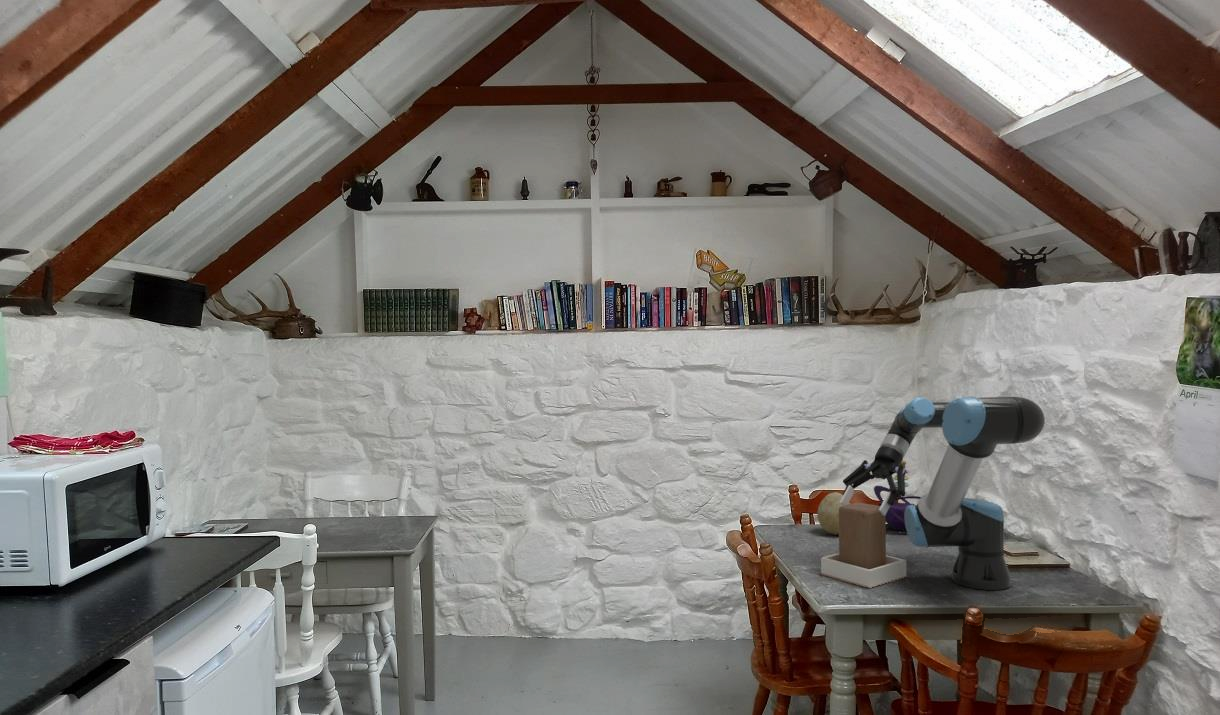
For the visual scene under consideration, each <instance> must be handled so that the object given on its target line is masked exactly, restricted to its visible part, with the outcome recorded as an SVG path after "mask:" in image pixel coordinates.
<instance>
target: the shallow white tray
mask: <svg viewBox="0 0 1220 715" xmlns="http://www.w3.org/2000/svg"><path fill="white" fill-rule="evenodd" d="M820 561H821V562H820V564H821V566H820V567H821V569H820V572H821V575H822V576H825V577H829V578H833V579H836V580H838V579H839V581H842V582H846V583H850V584H852V583H854V584H853V585H855V584H856V585H855V586H859V585H860V586H859V587H862V586H863V587H862V588H865V587H868V588H867V589H869V588H872V587H875V586H878V585H881V586H883V585H882V584H884V585H886V584H885V583H887V584H889V583H888V582H890V583H892V582H891V581H893V582H896V581H895V580H897V579H900V580H902V579H901V578H903V579H905V578H904V577H906V578H907V560H906V559H903V558H900V557H899V558H898V557H895V556H892V555H887V554H886V565H883V566H880V567H876V568H873V569H870V570H869V569H865V568H861V567H858V566H854V565H850V564H847V563H843V562H840V561H839V552H838V553H834V554H830V555H826V556H823V557H821V558H820ZM897 581H898V580H897ZM878 587H879V586H878ZM875 588H876V587H875ZM872 589H873V588H872Z"/></svg>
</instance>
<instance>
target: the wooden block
mask: <svg viewBox="0 0 1220 715" xmlns="http://www.w3.org/2000/svg"><path fill="white" fill-rule="evenodd" d="M880 507H881V506H877V505H876V504H869V503H866V502H865V503H864V502H860V501H858V502H853V503H851V504H849V505H844V506H841V507H839V535H838V553H839V561H840V562H843V563H847V564H850V565H854V566H858V567H861V568H865V569H869V570H870V569H873V568H876V567H880V566H883V565H886V555H887V535H886V534H887V532H886V531H887V530H886V528H887V523H886V515H885V516H883V515H882V514H881V512H880V511H879V508H880Z"/></svg>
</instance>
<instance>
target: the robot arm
mask: <svg viewBox="0 0 1220 715" xmlns="http://www.w3.org/2000/svg"><path fill="white" fill-rule="evenodd" d="M1044 427H1045V414H1044V411H1043V409H1042V408H1041V407H1040V405H1039V404H1037V403H1036V402H1034V401H1033V400H1030V399H1028V398H1025V397H1020V396H991V397H990V396H988V397H986V396H985V397H977V396H967V397H966V396H965V397H960V398H954V399H953V400H951V401H948V402H947V401H946V402H945V401H944V402H941V401H940V402H938V401H937V402H935V401H933V402H932V401H931V400H930V399H927V398H924V397H923V396H921V397H915V398H913V399H912V400H911V401H910V402H909V403H907V404H906V405H905V407H904V408H901V409H899V411H898V412H897V414H896V415H895V416H894V420H893V422H892V423H891V426H890V428H889V429H888V431H887V433H886V435H885V437H884V438H883V440H882V442H881V444H880V446H879V448H878V449H877V451H876V453H875V455H874V459H873V461H872V462H868V461H867V459H865V460H863V461H862V463H861V464H860V465H859V466H858V467H857V468H856V469H854V470H853V471H852V472H851V473H850V474H849V475H847V476H846V477H845V478H844V479H843V480H842V482H843V484H844V486H845V488H844V490H843V491H842V495H843V497H842V499H841V501H840V504H841V505H842V506H844V505H848V503H849V501H850V502H851V499H852V498H853V495H854V494H855V492H856V490H855V489H856V488H858V487H859V486H862V485H863V484H865V483H866V482H868V481H870V480H874V479H881V480H886V482H887V483H888V486H889V489H890V491H891V492H892V493H891V492H887V493H886V495H885V497H884V499H883V500H884V501H883V503H882V505H881V507H880V508H879V511H880V512H881V514H882V515H883V516H885V515H886V513H887V511H888V509H889V507H890V505H891V506H892V505H893V504H894V502H896V501H897V500H896V498H898V496H901V497H906V487H905V483H906V480H905V477H904V476H906V474H907V473H906V470H907V469H906V467H905V468H904V467H903V466H902V465H900V464H901V462H902V461H904V458H905V456H906V454H907V452H908V451H909V449H910V446H911V444H912V442H913V440H914V439H915V437H916V435H917V434H918V433H919V432H920V431H921V430H923V429H925V428H927V429H928V428H930V429H932V428H934V429H936V428H941V429H942V434H943V437H944V439H945V440H946V443H947V444H948V446H947V448H946V450H945V453H944V455H943V457H942V460H941V462H940V465H939V467H938V468H937V472H936V475H935V476H934V479H933V481H932V483H931V486H930V488H929V491H928V492H927V493H925V494H923V495H921V496H920V497H921V498H920V499H918V500H917V504H914V505H909V506H907V507H906V509H905V513H904V518H905V526H906V530H907V531H906V533H907V536H908V538H909V540H910V542H911V543H912V544H913V545H914V546H915V547H918V548H922V547H923V548H938V547H939V548H943V547H958V554H957V557H956V559H955V562H954V565H953V568H952V571H951V579H952V581H953V582H955V584H958V585H960V586H962V587H965V588H966V587H967V588H971V589H974V590H975V589H976V590H987V591H1001V590H1005V589H1009V588H1010V587H1012V576H1011V573H1010V571H1009V568H1008V565H1007V563H1006V558H1005V554H1004V553H1005V547H1004V546H1005V542H1004V541H1005V538H1004V537H1005V525H1004V524H1005V517H1004V509H1003V508H1002V506H1001V505H999V504H998V503H996V502H991V501H987V500H984V499H976V498H969V497H966V495H967V493H968V491H969V488H970V487H971V485H972V482H973V480H974V477H975V476H976V473H977V472H978V469H979V468H980V466H981V463H982V461H983V459H987V458H989V457H991V455H993V453H994V452H995V450H996V447H997V446H998V445H1014V444H1015V445H1016V444H1022V443H1027V442H1029V441H1032V440H1034V439H1036V438H1037V437H1038V436H1039V435H1040V434H1041V432H1042V431H1043V429H1044ZM896 472H897V473H896ZM894 474H896V475H897V480H896V482H897V485H898V487H896V486H895V480H894V479H893V478H894V476H893V475H894Z"/></svg>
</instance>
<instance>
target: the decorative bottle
mask: <svg viewBox="0 0 1220 715" xmlns="http://www.w3.org/2000/svg"><path fill="white" fill-rule="evenodd" d="M906 464H907V462H906V460H905V461H904V460H902V462H901V464H900V465H902V466H903V467H904V468H905V470H906V474H909V473H910V472H909V470H908V469H906ZM895 474H896V475H895V476H893V480H894V483H895V486H896V488H898V485H897V472H896V473H895ZM904 477H905V481H908V480H909V479H910V478H909V477H908V476H907V475H905V476H904ZM895 481H896V482H895ZM909 486H910V485H909V484H908V482H905V488H906V487H907V488H908V487H909ZM890 490H891V489H890V488H888V487H885V486H882V485H875V486H874V487H873V492H874V494H875V496H876V498H877V500H878V501H879V502H880V503H879V504H877V505H876V506H881V505H882V503H883V501H884V499H883V497H882V495H881V492H887V493H888V492H891V491H890ZM891 493H892V492H891ZM921 497H922V496H917V495H916V496H915V495H914V496H913V495H912V496H911V495H907V496H904V497H902V496H898V497H897V498H896V500H895V502H894V504H893V505H892V506H891V505H890V507H889V509H888V511H887V513H886V525H888V526H889V527H890V528H891V529H892V530H894V531H896V532H902V531H901V530H904V531H903V532H907V530H906V526H905V518H904V513H905V509H906V507H907V506H909V505H915V504H914V503H910V502H909V501H908V499H917V500H919V499H920V498H921ZM898 500H901V501H902V502H896V501H898Z"/></svg>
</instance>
